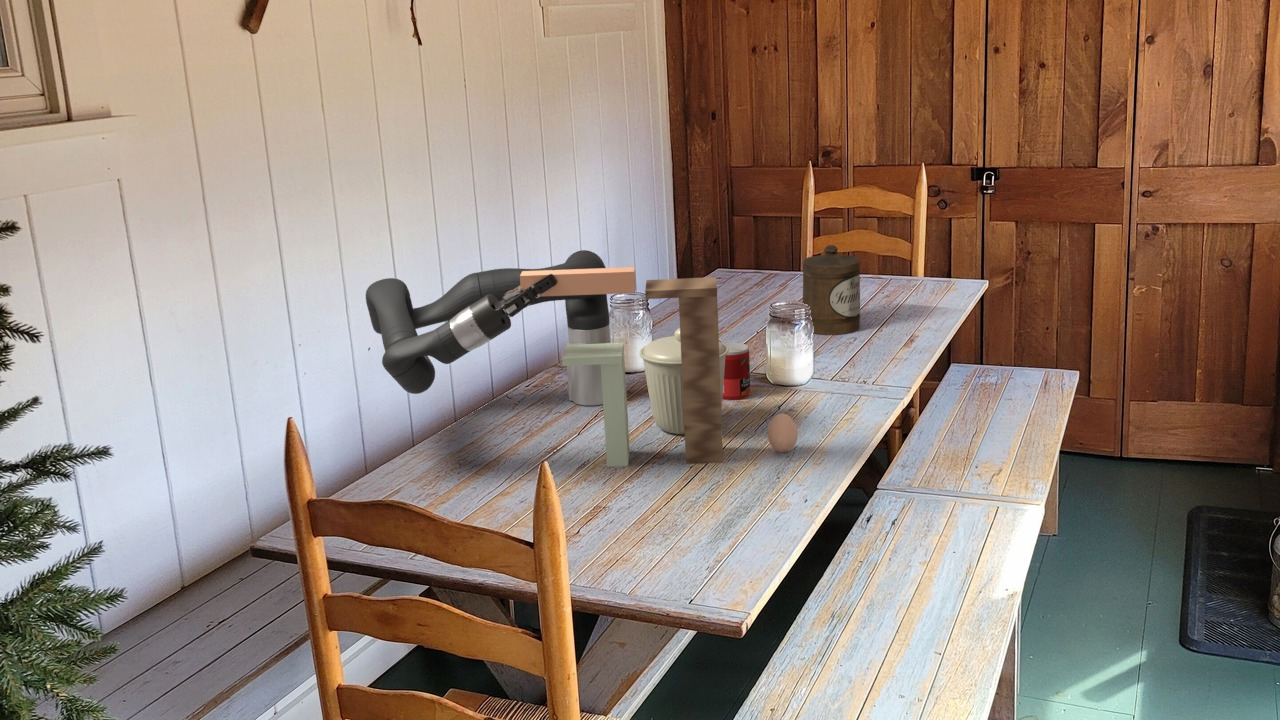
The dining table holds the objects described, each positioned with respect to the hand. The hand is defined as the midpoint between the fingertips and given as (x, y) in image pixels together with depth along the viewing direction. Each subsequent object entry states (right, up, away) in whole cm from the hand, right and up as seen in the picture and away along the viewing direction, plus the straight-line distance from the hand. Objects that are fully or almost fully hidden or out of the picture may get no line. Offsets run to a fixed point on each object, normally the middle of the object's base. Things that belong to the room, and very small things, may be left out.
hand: (555, 275), depth 223 cm
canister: (+25, -30, +26) cm, 47 cm away
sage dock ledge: (+8, -35, +10) cm, 37 cm away
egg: (+43, -33, +9) cm, 55 cm away
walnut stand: (+25, -34, +9) cm, 43 cm away
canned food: (+36, -24, +44) cm, 62 cm away
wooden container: (+66, -7, +94) cm, 115 cm away
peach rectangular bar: (+4, -3, +1) cm, 5 cm away
